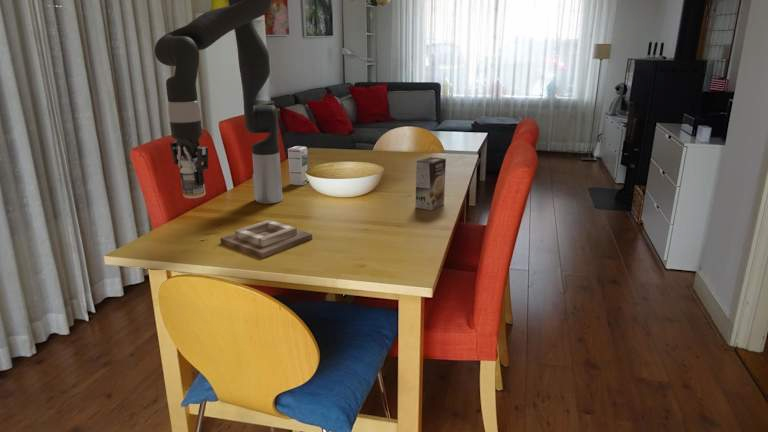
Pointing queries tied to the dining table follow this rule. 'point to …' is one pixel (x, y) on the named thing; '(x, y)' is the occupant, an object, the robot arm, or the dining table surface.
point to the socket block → (266, 238)
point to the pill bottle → (190, 181)
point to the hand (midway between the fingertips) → (193, 182)
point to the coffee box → (430, 183)
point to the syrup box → (298, 165)
